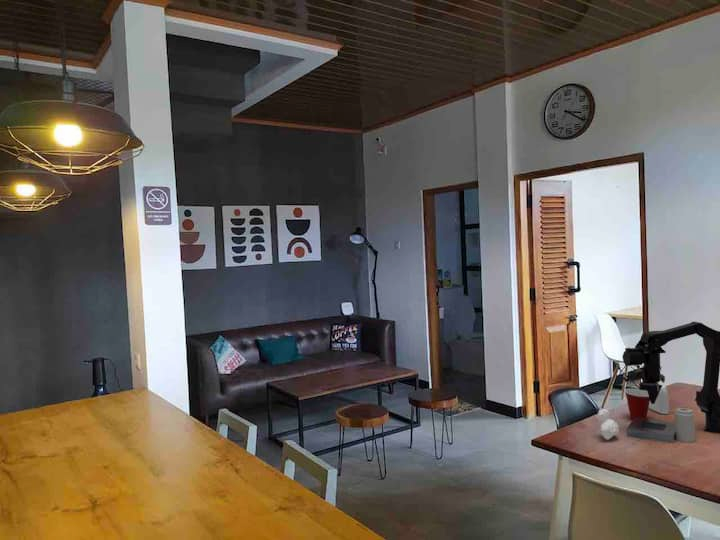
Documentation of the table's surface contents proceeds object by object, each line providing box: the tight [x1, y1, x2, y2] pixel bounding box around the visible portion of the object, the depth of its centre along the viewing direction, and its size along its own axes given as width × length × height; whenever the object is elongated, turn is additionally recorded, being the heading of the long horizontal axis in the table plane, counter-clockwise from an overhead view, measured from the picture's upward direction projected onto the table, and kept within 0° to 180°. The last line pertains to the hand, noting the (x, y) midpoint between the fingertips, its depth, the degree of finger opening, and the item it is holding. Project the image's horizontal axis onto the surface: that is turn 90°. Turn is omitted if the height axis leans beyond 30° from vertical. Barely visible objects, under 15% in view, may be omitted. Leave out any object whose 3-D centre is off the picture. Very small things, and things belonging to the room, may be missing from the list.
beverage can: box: [674, 407, 696, 443], centre depth 206 cm, size 6×6×12 cm
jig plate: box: [626, 417, 676, 444], centre depth 214 cm, size 16×16×3 cm
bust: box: [596, 408, 620, 440], centre depth 211 cm, size 12×8×11 cm, turn 145°
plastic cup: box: [624, 388, 650, 421], centre depth 232 cm, size 11×11×12 cm
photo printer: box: [648, 383, 670, 415], centre depth 241 cm, size 10×4×12 cm, turn 4°
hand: (652, 403), depth 214 cm, fingers closed
